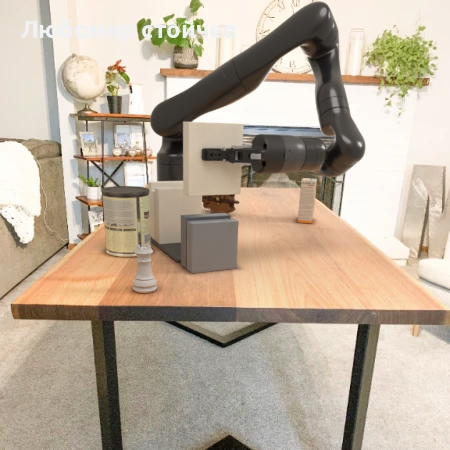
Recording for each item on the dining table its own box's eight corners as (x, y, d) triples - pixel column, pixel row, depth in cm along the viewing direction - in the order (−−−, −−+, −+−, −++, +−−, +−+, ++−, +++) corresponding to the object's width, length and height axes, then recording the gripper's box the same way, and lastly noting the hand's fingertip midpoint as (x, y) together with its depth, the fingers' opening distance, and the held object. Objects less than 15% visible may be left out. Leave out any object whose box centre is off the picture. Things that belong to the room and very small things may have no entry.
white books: (144, 236, 116) (143, 180, 111) (187, 233, 121) (187, 180, 116) (177, 262, 95) (176, 195, 90) (227, 257, 100) (229, 193, 95)
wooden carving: (196, 210, 153) (197, 181, 150) (205, 209, 157) (206, 180, 153) (233, 218, 143) (234, 186, 140) (242, 216, 147) (243, 185, 143)
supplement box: (312, 223, 139) (317, 181, 134) (297, 222, 140) (301, 180, 135) (313, 219, 146) (317, 178, 142) (298, 218, 147) (302, 177, 142)
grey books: (180, 264, 94) (180, 214, 90) (223, 260, 98) (224, 212, 94) (192, 273, 88) (192, 221, 85) (236, 268, 92) (238, 218, 89)
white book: (183, 193, 86) (183, 121, 81) (233, 192, 90) (236, 123, 86) (188, 196, 83) (188, 121, 79) (240, 194, 88) (243, 123, 83)
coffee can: (107, 245, 106) (103, 185, 101) (150, 245, 108) (149, 186, 103) (103, 257, 97) (99, 191, 91) (151, 256, 98) (149, 192, 93)
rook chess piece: (133, 285, 81) (131, 242, 78) (158, 285, 81) (157, 242, 78) (131, 294, 77) (128, 249, 74) (157, 294, 77) (155, 249, 74)
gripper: (261, 133, 94) (185, 131, 87) (298, 135, 83) (214, 133, 76) (259, 169, 97) (185, 170, 90) (294, 177, 85) (213, 178, 78)
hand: (199, 153), depth 83 cm, fingers closed on white book, 3 cm apart
